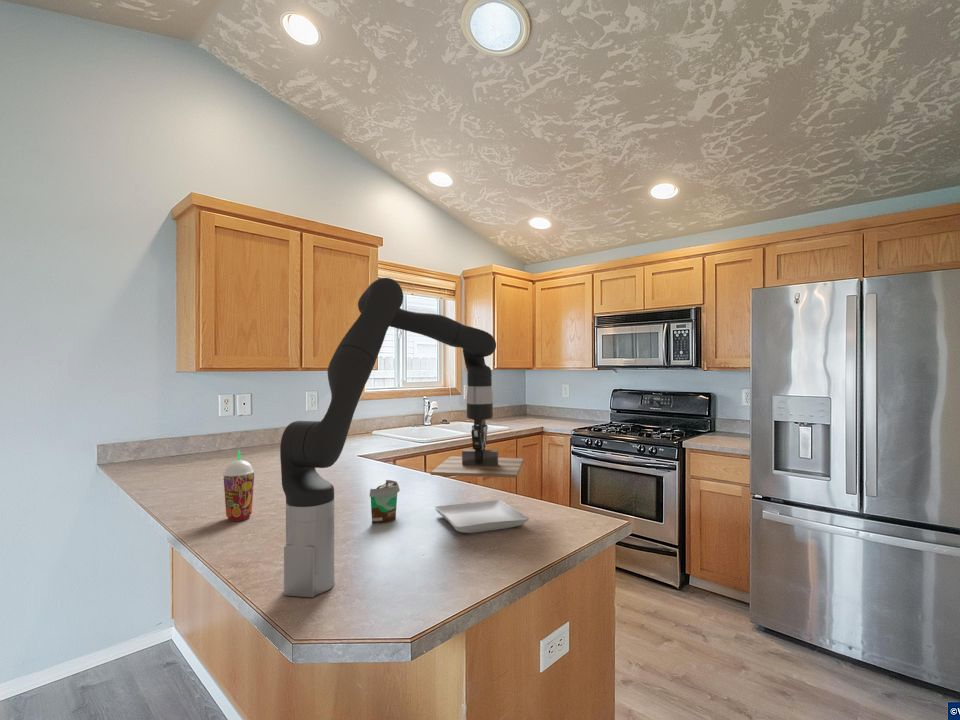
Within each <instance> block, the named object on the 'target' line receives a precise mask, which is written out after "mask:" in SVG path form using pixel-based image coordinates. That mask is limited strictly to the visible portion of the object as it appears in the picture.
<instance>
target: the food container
mask: <svg viewBox="0 0 960 720" xmlns="http://www.w3.org/2000/svg"><path fill="white" fill-rule="evenodd" d="M399 492H400V486H399V483H398V481H396V480H391V479H390V480H389V479H386V480H385V483H384V484H380V485H379V486H377V487H376V488H370V489H369V497H370V511H371V524H372V523H374V525H376V524H377V523H379V524H386V522H387V523H390V522H393V521H395V520H396V517H397V502H398V493H399ZM394 519H395V520H394Z"/></svg>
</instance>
